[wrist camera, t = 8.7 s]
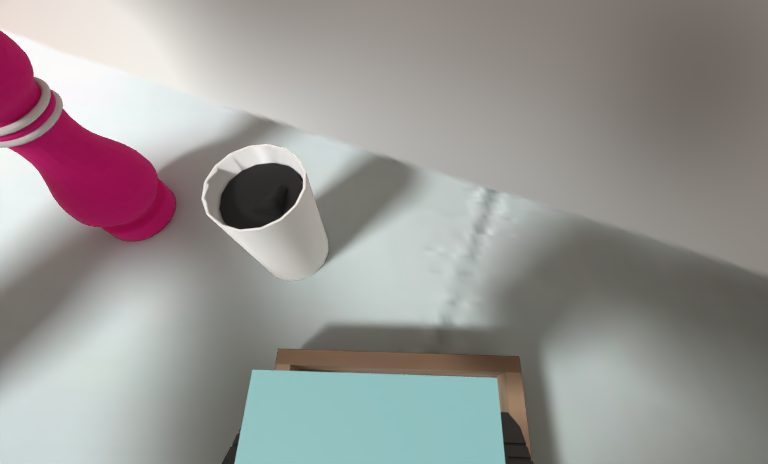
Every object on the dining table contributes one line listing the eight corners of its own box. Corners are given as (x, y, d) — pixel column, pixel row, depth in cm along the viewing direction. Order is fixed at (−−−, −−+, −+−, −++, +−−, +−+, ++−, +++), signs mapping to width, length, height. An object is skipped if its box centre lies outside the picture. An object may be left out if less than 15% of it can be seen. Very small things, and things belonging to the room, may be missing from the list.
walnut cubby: (524, 536, 22) (543, 555, 19) (268, 519, 23) (247, 535, 20) (505, 363, 27) (519, 356, 24) (292, 356, 28) (278, 348, 25)
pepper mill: (197, 200, 35) (-19, -27, 17) (139, 260, 32) (-188, 67, 14) (147, 169, 37) (-94, -62, 19) (88, 224, 34) (-254, 14, 16)
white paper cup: (339, 219, 33) (315, 146, 24) (326, 289, 30) (293, 236, 21) (269, 214, 34) (220, 141, 25) (249, 282, 31) (185, 227, 22)
